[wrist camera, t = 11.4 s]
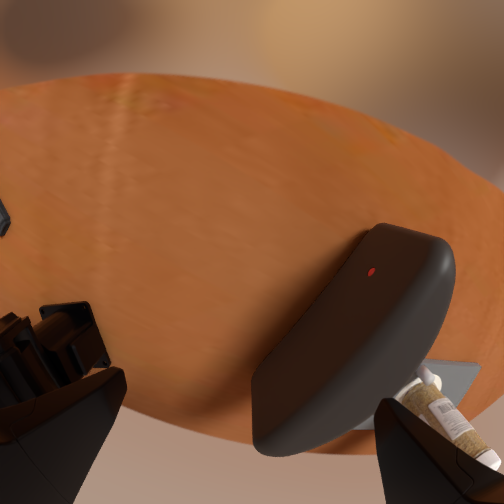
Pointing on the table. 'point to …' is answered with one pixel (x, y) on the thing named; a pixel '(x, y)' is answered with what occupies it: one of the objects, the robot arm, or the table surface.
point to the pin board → (437, 382)
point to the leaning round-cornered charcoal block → (354, 342)
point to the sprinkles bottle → (448, 422)
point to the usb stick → (4, 219)
